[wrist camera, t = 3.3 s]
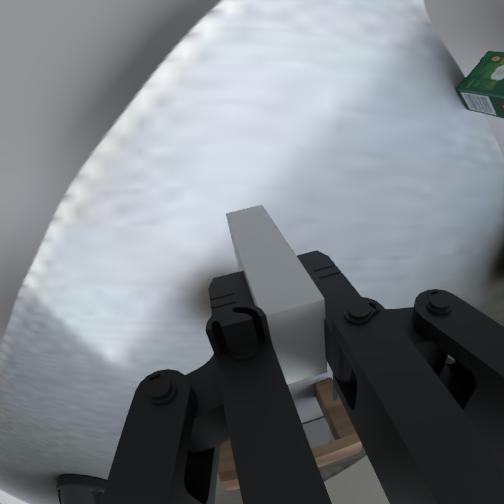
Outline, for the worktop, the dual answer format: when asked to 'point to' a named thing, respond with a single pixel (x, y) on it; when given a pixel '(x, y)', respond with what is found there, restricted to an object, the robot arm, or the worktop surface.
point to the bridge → (323, 454)
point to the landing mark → (317, 432)
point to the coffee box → (485, 86)
